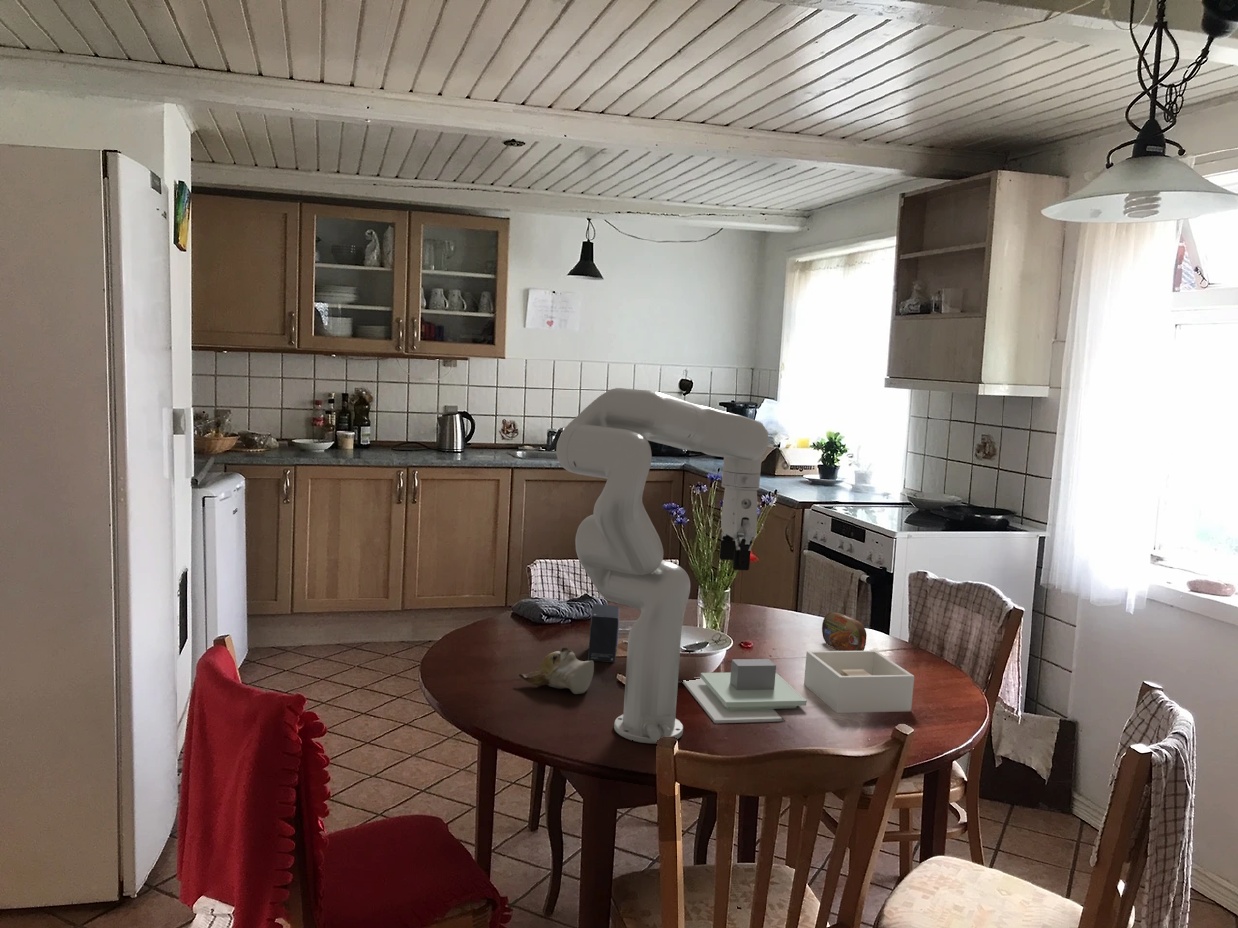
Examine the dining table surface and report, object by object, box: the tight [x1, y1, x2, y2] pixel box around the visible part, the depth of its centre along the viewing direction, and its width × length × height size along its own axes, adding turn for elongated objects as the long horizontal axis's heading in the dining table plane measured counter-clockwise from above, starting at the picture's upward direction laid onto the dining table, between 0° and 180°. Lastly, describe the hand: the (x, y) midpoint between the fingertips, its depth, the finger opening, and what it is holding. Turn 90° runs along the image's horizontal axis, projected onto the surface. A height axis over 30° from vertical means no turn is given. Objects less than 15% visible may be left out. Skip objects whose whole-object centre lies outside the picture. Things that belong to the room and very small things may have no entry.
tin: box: [821, 611, 867, 651], centre depth 227 cm, size 15×3×8 cm, turn 22°
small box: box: [587, 603, 620, 663], centre depth 212 cm, size 11×6×10 cm, turn 179°
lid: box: [699, 658, 808, 710], centre depth 189 cm, size 17×17×7 cm
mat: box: [682, 677, 786, 724], centre depth 189 cm, size 23×23×1 cm
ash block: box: [841, 669, 870, 676], centre depth 192 cm, size 5×5×5 cm
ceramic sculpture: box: [518, 647, 595, 695], centre depth 189 cm, size 11×9×15 cm
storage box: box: [803, 650, 915, 714], centre depth 192 cm, size 16×16×8 cm
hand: (733, 564), depth 189 cm, fingers open, 9 cm apart
